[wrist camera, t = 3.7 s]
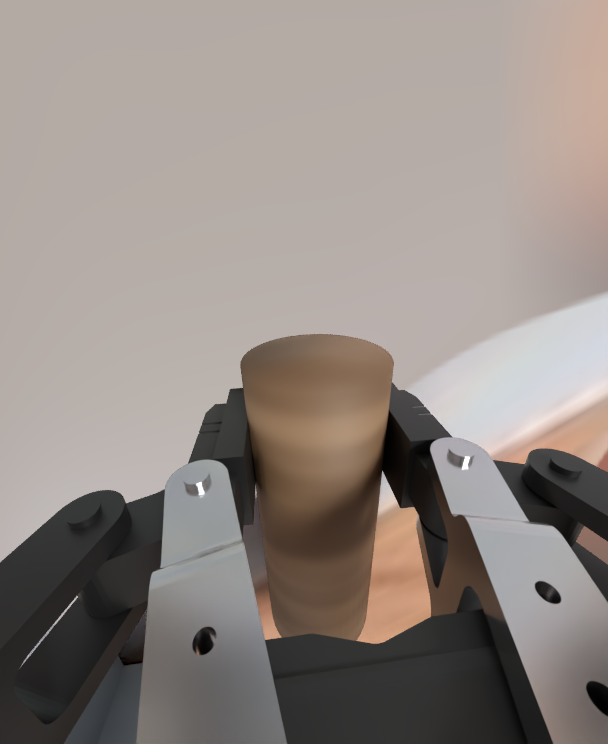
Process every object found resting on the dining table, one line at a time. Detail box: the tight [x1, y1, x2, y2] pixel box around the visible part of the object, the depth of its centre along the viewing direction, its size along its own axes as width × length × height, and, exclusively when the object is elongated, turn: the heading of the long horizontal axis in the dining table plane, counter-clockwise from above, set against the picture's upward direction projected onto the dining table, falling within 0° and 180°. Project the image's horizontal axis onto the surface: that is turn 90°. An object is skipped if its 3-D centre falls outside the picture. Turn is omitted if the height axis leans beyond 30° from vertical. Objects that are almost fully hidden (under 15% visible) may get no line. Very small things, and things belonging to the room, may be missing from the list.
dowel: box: [241, 334, 394, 641], centre depth 10 cm, size 11×4×4 cm, turn 2°
